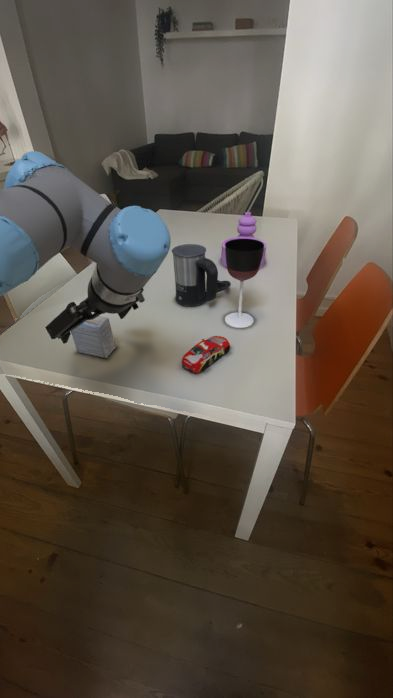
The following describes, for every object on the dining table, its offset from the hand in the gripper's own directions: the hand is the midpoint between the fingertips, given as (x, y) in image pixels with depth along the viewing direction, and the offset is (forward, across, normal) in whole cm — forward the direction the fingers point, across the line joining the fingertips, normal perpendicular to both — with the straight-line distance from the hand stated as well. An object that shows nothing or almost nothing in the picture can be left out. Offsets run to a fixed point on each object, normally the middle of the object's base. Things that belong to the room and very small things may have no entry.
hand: (92, 324), depth 69 cm
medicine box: (+6, 0, -5) cm, 8 cm away
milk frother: (+8, +36, -3) cm, 37 cm away
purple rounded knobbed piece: (+16, +67, +5) cm, 69 cm away
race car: (-7, +17, -19) cm, 26 cm away
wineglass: (-3, +34, -15) cm, 37 cm away
